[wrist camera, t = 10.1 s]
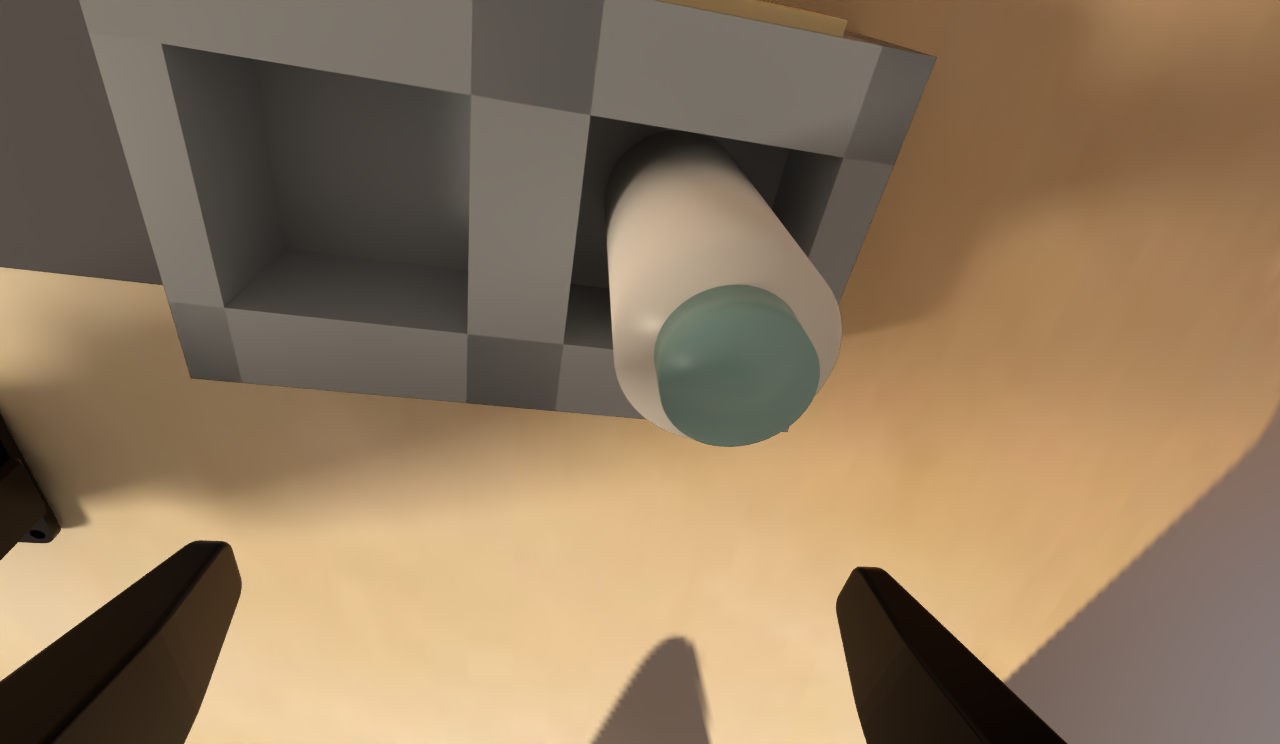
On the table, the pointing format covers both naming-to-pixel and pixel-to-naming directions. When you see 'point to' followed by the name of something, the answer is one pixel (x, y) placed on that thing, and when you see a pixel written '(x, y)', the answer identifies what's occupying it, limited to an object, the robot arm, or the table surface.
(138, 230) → the mat
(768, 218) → the beige and green cylinder
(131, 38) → the socket block
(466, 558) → the table surface
